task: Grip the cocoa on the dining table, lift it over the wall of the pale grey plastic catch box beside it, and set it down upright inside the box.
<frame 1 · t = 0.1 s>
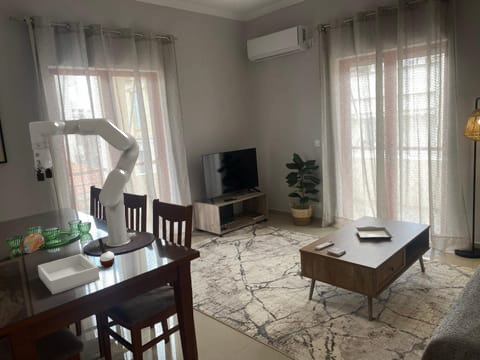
hand: (45, 179, 184), 37 cm above the table, tool pointing down, fingers open, 9 cm apart
tin: (33, 250, 190), on the table
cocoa: (107, 266, 163), on the table
catch box: (69, 278, 152), on the table
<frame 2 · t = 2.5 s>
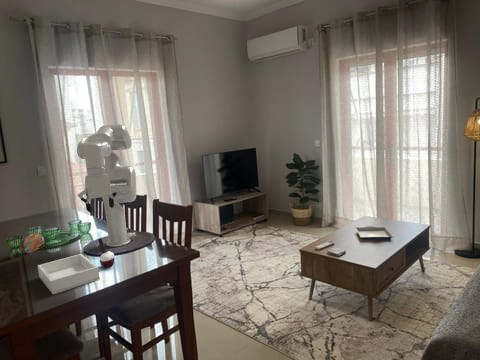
hand: (100, 209, 159), 26 cm above the table, tool pointing down, fingers open, 9 cm apart
nothing on the table moved.
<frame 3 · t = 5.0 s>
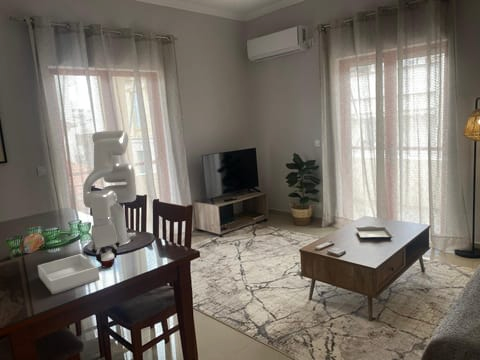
hand: (107, 259, 163), 3 cm above the table, tool pointing down, fingers closed on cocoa, 6 cm apart
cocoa: (108, 266, 163), on the table, touching gripper
everything else where it was.
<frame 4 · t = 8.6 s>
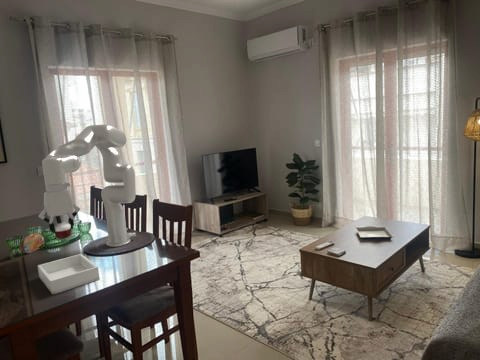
hand: (62, 229, 148), 21 cm above the table, tool pointing down, fingers closed on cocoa, 6 cm apart
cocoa: (63, 237, 149), point 18 cm above the table, touching gripper
everything else where it was.
when the fingers open (6 cm above the table, at t = 12.4 s): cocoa drops 2 cm, resting on catch box.
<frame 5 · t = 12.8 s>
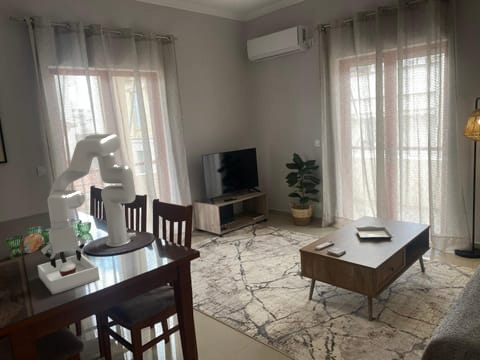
hand: (66, 263, 151), 7 cm above the table, tool pointing down, fingers open, 9 cm apart
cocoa: (68, 276, 152), point 1 cm above the table, touching catch box
everything else where it was.
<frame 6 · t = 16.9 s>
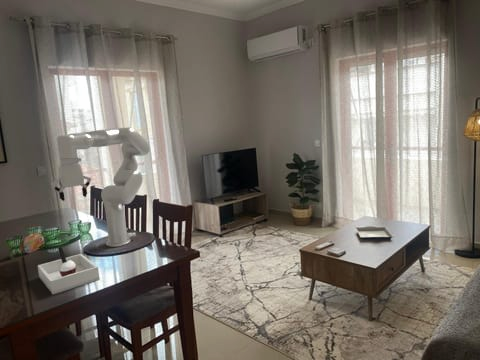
hand: (74, 198, 167), 30 cm above the table, tool pointing down, fingers open, 9 cm apart
nothing on the table moved.
at the end: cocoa inside the target area on the catch box (0.1 cm from its centre), point 0.8 cm above the catch box's base; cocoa tilted 0°; the gripper is holding nothing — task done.
